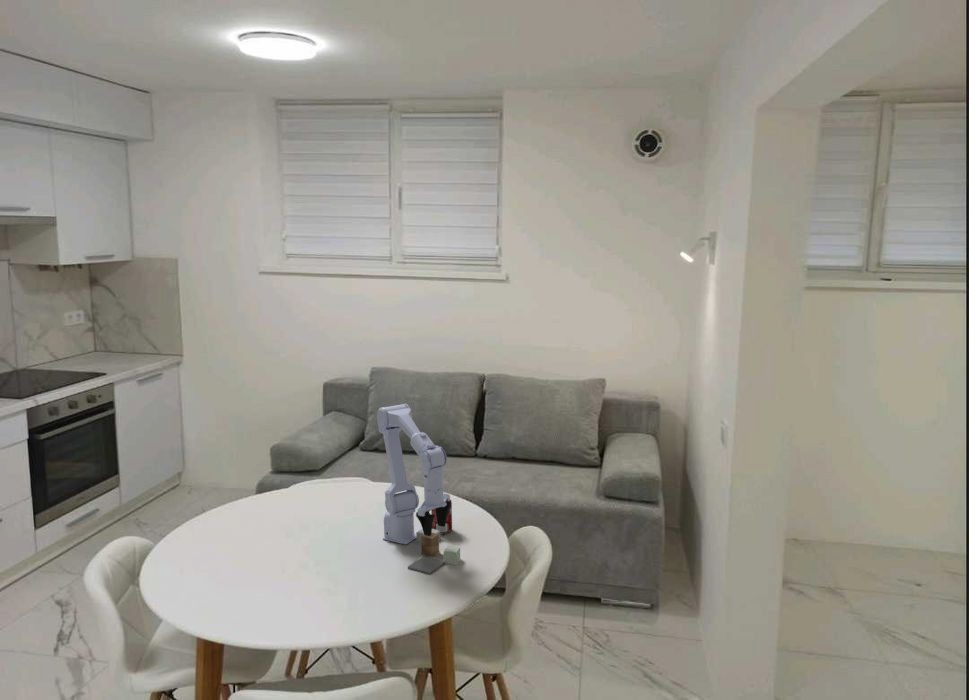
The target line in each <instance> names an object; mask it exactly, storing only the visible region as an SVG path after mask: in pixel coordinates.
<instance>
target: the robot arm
mask: <svg viewBox="0 0 969 700" xmlns="http://www.w3.org/2000/svg"><path fill="white" fill-rule="evenodd" d="M376 421H377V427H378V432H379V433H380V434H382V435H383V441H384V446H385V452H386V458H387V466H388V471H389V476H390V483H391V484H390V485H389V487H388V488H387V489H386V490H385V491H384V497H385V498H384V499H385V501H384V506H385V509H386V513H385V514H384V516H383V537H382V539H383V540H386V541H389V542H393V543H398V544H401V545H408V544H409V543H411V542H412V541H414V540H417V538H416V533H415V523H414V522H415V521H414V519H415V518H414V517H416V518H417V520H418V521H419V523H420V525H421V529H423V532H424V535H427V536H431V533H432V523H433V519H434V517H435V515H432V513H430V511H431V510H432V509H436V514H437V522H438V526H442V527H444V526H445V524H446V519H447V515H448V513H449V510H450V508H451V506H452V505H453V502H452V503H450V502H448V501H450V500H451V496H450V495H451V494H450V493H444V466H446V464H447V461H448V457H447V456H448V455H447V453H446V450H445V449H444V448H443V447H442V446H439V445H436V444H434V442H433V441H432V440H431V438H430V437H429V435H428V434H427V433H426V432H423V431H420V428H419V427H418V426H417V424H416V423H415V421H414V420H413V414H412V409H411V407H410V406H409V405H408V403H402V404H397V405H391V406H384V407H383V406H382V407H379V408H378V410H377V413H376ZM401 432H404V433H405V435H406V436H407V437H408V438H409V439H410V442H409V443H410V446H411V447H412V448H413V450H414V451H415V453H416V454H417V455H418V457H419V463H420V466H421V473H422V474H423V485H424V486H423V487H424V488H423V492H424V494H423V496H424V497H423V498H424V499H423V500H424V501H423V502H422V503H421V505H420V507H419V504H420V498H419V495H418V493H417V491H416V486H415V485H413V484H412V483H410V482H408V479H407V472H406V469H405V468H406V467H405V461H404V456H403V450H402V443H401V439H400V433H401ZM418 507H419V508H418ZM452 507H453V506H452ZM416 509H417V512H416ZM414 514H415V516H414Z"/></svg>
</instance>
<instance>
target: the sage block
mask: <svg viewBox="0 0 969 700" xmlns="http://www.w3.org/2000/svg"><path fill="white" fill-rule="evenodd" d="M460 560H461V547H460V546H452V545H447V546H446V548H445V549H444V550H443V561H444V562H445V564H447V565H455V566H456V565H458V563H459V562H460ZM445 564H444V565H445Z"/></svg>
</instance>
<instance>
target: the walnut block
mask: <svg viewBox="0 0 969 700" xmlns="http://www.w3.org/2000/svg"><path fill="white" fill-rule="evenodd" d="M420 550H421V552H420V554H421V555H422V556H425V557H429V558H433V557H435V556H436V555H437V554H438V553H440V539H439V534H436V533H431V536H427V535H422V536H421V542H420Z"/></svg>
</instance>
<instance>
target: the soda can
mask: <svg viewBox="0 0 969 700" xmlns="http://www.w3.org/2000/svg"><path fill="white" fill-rule="evenodd" d="M448 502H450V503H452V504H453V502H452V499H450V501H448ZM452 509H453V506H451V508H450V510H449V513H448V515H447V519H446V524H445V526H444V527H442V526H438V522H437V514H436V509H432V510H431V513H430V514H431V515H435V517H434V519H433V523H432V529H435V530H439V531H440V535H444V534H448V533H450V532H451V531H452V530H453V513H452Z"/></svg>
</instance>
